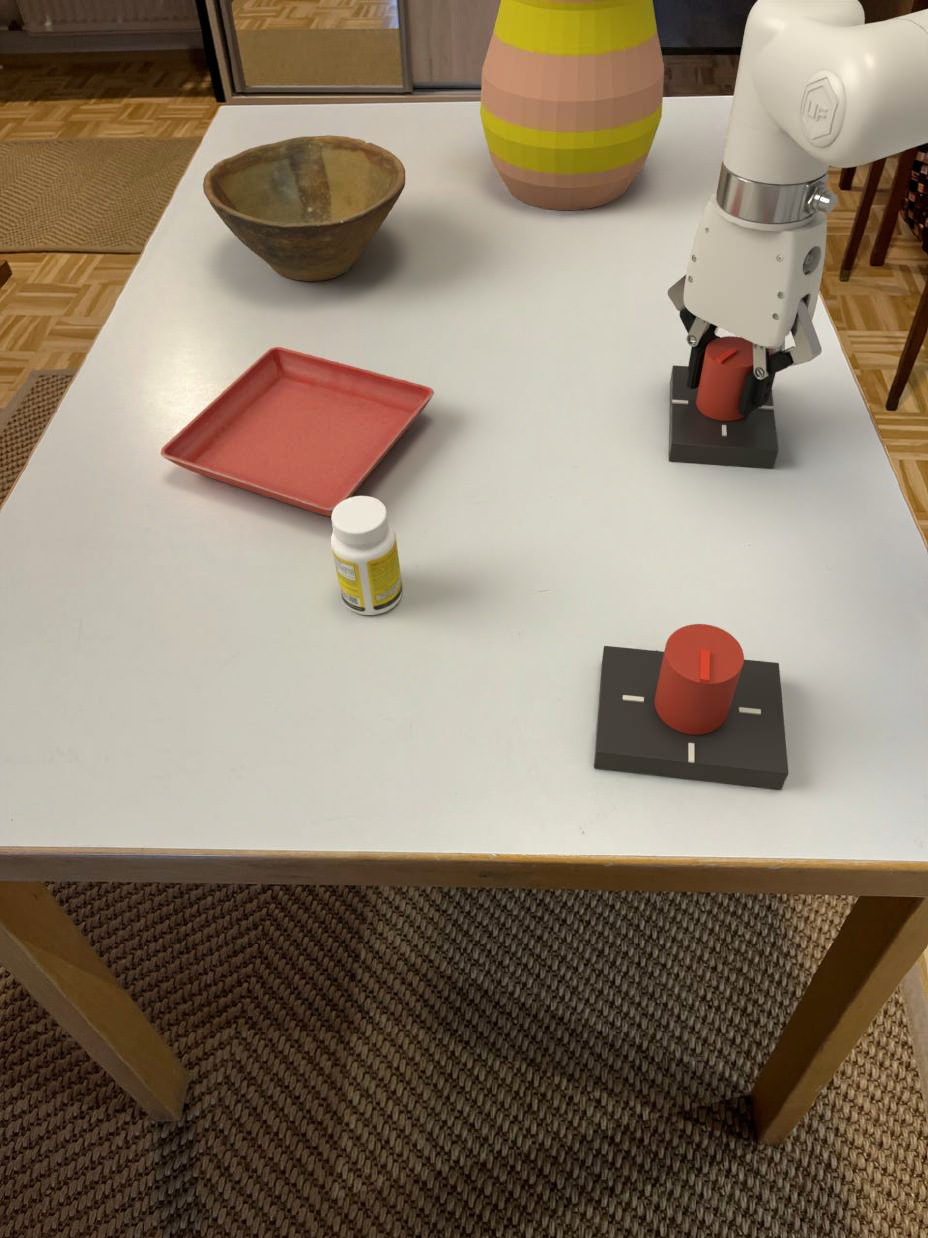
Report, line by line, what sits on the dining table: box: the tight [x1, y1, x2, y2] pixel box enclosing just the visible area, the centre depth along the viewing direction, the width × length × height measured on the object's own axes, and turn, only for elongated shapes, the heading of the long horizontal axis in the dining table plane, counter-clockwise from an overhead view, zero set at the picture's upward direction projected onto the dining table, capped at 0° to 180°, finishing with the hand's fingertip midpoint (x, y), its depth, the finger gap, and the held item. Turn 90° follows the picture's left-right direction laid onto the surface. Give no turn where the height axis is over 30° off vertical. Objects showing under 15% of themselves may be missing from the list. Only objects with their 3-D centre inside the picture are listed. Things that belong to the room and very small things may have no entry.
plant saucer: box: [159, 346, 435, 517], centre depth 83 cm, size 18×18×3 cm
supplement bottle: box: [330, 495, 403, 616], centre depth 69 cm, size 5×5×8 cm
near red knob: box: [655, 623, 745, 735], centre depth 59 cm, size 5×5×6 cm
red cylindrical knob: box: [696, 335, 753, 421], centre depth 81 cm, size 5×5×6 cm
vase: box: [479, 0, 665, 211], centre depth 107 cm, size 22×22×30 cm
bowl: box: [202, 134, 406, 282], centre depth 103 cm, size 22×23×10 cm
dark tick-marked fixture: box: [593, 645, 789, 791], centre depth 62 cm, size 12×9×2 cm
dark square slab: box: [668, 365, 779, 470], centre depth 84 cm, size 12×9×2 cm
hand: (725, 393), depth 82 cm, fingers closed on red cylindrical knob, 4 cm apart
